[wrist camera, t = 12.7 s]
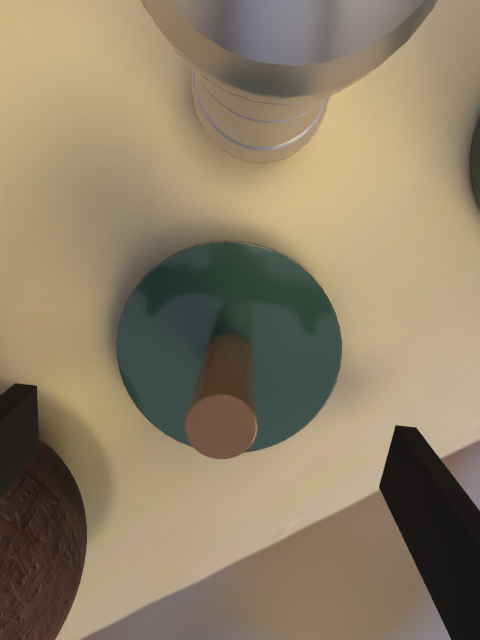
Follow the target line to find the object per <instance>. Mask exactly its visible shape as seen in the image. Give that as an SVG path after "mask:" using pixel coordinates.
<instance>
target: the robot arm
mask: <svg viewBox="0 0 480 640" xmlns="http://www.w3.org/2000/svg"><path fill="white" fill-rule="evenodd" d="M38 452H39V432H38V405H37V386H34V385H25V384H16V383H15V384H14V385H13V386H11V387H10V388H9V389H8V390H6V391H5V392H4V393H3V394H1V395H0V499H1V497H2V496H3V495H4V494H5V492H6V491H7V490H8V489H9V488H10V486H11V485H12V484H13V483H14V481H15V480H16V479H17V478H18V477H19V475H20V474H21V473H22V472H23V470H24V469H25V468H26V467H27V465H28V464H29V463H30V462H31V461H32V459H33V458H34V457H35V456H36V454H37V453H38ZM379 488H380V490H381V492H382V494H383V496H384V499H385V501H386V503H387V505H388V507H389V509H390V511H391V513H392V515H393V517H394V519H395V522H396V524H397V526H398V528H399V530H400V532H401V534H402V536H403V539H404V540H405V543H406V545H407V547H408V549H409V551H410V553H411V555H412V557H413V560H414V562H415V564H416V566H417V568H418V570H419V572H420V574H421V576H422V578H423V581H424V583H425V585H426V587H427V589H428V591H429V593H430V595H431V598H432V600H433V602H434V604H435V606H436V608H437V610H438V612H439V614H440V616H441V619H442V621H443V623H444V625H445V627H446V629H447V631H448V633H449V635H450V638H451V640H480V511H479V509H478V508H477V507H476V505H475V504H474V503H473V502H472V500H471V499H470V498H469V496H468V495H467V494H466V492H465V491H464V490H463V488H462V487H461V486H460V485H459V483H458V482H457V481H456V479H455V478H454V477H453V475H452V474H451V473H450V471H449V470H448V469H447V467H446V466H445V465H444V464H443V462H442V461H441V460H440V458H439V457H438V456H437V454H436V453H435V452H434V450H433V449H432V448H431V446H430V445H429V444H428V443H427V441H426V440H425V439H424V437H423V436H422V435H421V433H420V432H419V431H418V429H417V428H415V427H406V426H397V425H396V426H395V430H394V434H393V437H392V441H391V445H390V449H389V452H388V456H387V460H386V463H385V467H384V471H383V474H382V478H381V482H380V486H379Z"/></svg>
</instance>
